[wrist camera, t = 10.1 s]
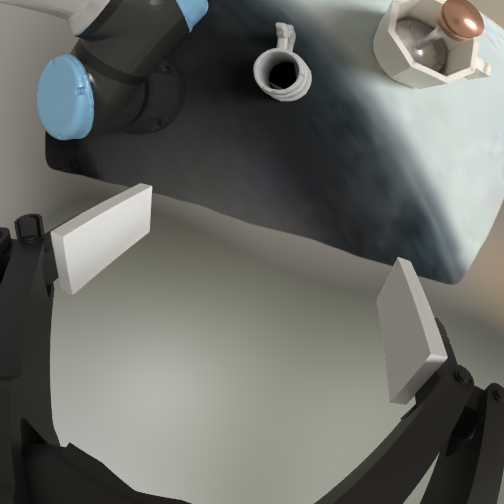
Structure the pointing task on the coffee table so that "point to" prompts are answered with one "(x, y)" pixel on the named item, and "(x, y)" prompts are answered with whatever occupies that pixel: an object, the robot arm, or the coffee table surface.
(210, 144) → the coffee table surface
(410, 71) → the octagonal white cup
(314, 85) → the coffee table surface
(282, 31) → the mug
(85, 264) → the robot arm
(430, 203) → the coffee table surface
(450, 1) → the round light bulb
